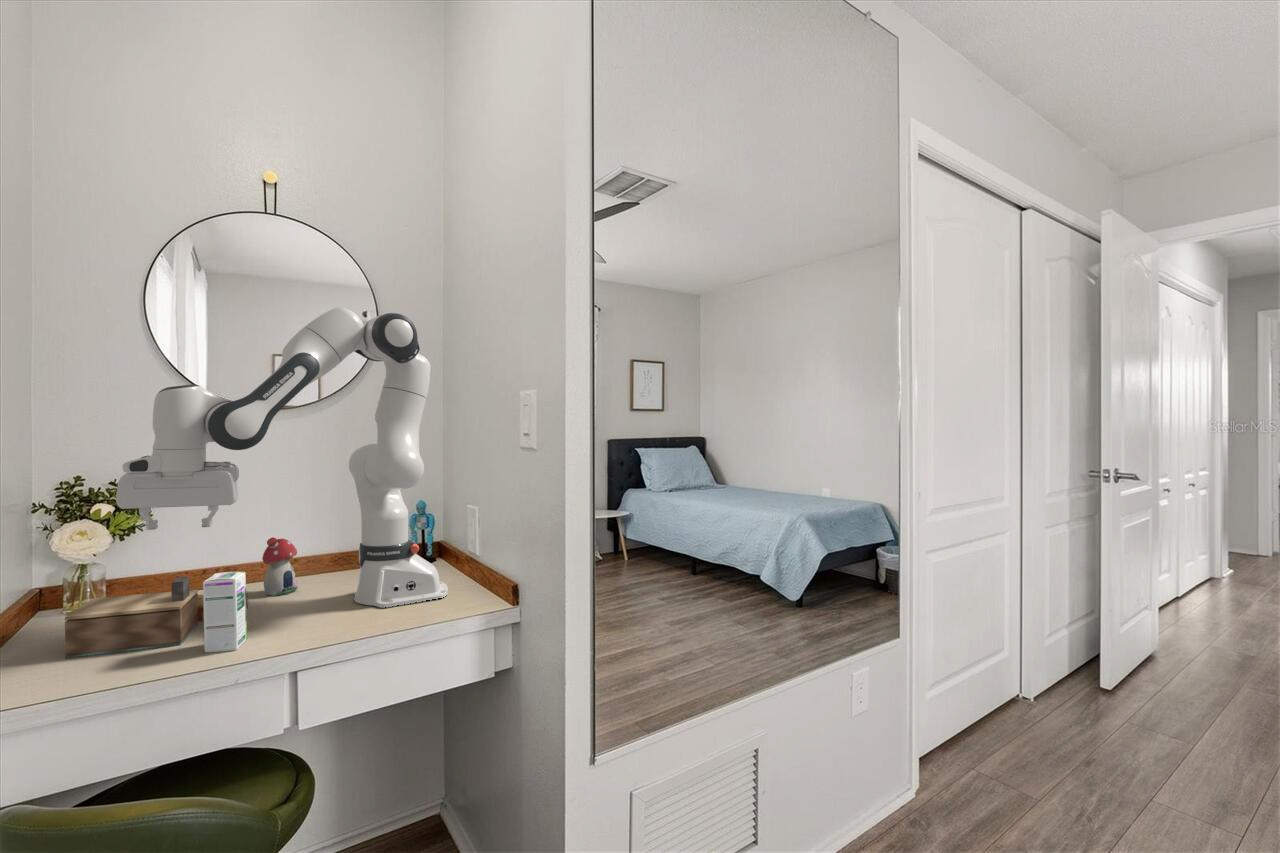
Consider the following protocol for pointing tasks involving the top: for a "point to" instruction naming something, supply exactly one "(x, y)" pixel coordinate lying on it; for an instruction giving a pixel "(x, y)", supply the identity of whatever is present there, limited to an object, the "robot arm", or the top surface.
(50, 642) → the top surface
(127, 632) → the walnut box
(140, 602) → the lid
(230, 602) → the syrup box
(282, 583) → the decorative ornament
